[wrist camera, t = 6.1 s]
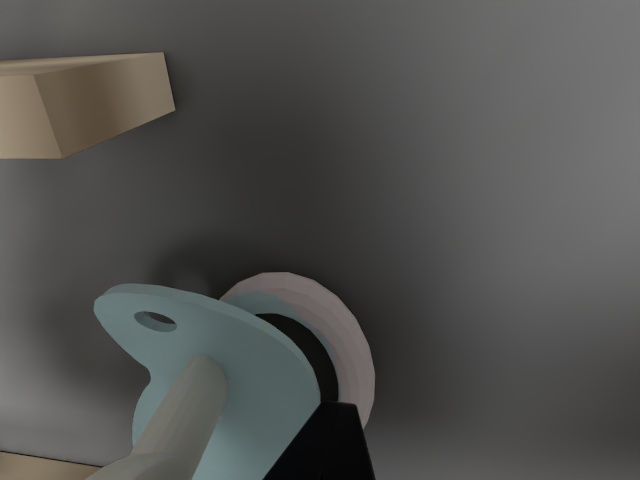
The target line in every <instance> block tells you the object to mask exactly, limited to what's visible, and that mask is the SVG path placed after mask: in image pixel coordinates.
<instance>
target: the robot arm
mask: <svg viewBox="0 0 640 480" xmlns="http://www.w3.org/2000/svg"><path fill="white" fill-rule="evenodd" d="M262 480H376V479H375V475H374V471H373V467H372V463H371V459H370V455H369V451H368V447H367V443H366V439H365V435H364V431H363V427H362V423H361V420H360V416H359V412H358V408H357V406H356V404H353V403H345V402H337V401H329V400H324V401H322V402H321V403H320V404H319V405H318V407H317V408H316V409H315V411H314V412H313V413H312V415H311V416H310V417H309V419H308V420H307V421H306V422H305V424H304V425H303V426H302V428H301V429H300V430H299V432H298V433H297V434H296V436H295V437H294V438H293V440H292V441H291V442H290V444H289V445H288V446H287V447H286V449H285V450H284V451H283V453H282V454H281V455H280V457H279V458H278V459H277V461H276V462H275V463H274V465H273V466H272V467H271V468H270V470H269V471H268V472H267V474H266V475H265V476H264V478H263V479H262Z"/></svg>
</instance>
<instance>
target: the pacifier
mask: <svg viewBox="0 0 640 480" xmlns="http://www.w3.org/2000/svg"><path fill="white" fill-rule="evenodd" d="M143 311H148V312H154V313H158V314H162V315H164V316H167V317H169V318H170V319H171V320H173V321H174V322H175V323H176V324H168V323H163V322H160V321H157V320H154V319H152V318H151V317H149V316H148V315H146V314H145V313H144V312H143ZM94 313H95V315H96V317H97V319H98V320H99V321H100V323H101V325H102V326H103V328H104V329H105V330H106V331H107V332H108V334H109V335H110V336H111V337H112V338H113V339H114V340H115V341H116V342H117V343H118V344H119V345H120V346H121V347H122V348H123V349H124V350H125V351H126V352H127V353H129V354H130V355H131V356H132V357H133V358H134V359H135V360H136V361H138V362H139V363H140V364H142V365H144V366H145V367H146V368H147V369H148V370H149V372H150V375H151V381H150V383H149V384H148V385H147V387H146V388H145V389H144V391H143V392H142V394H141V396H140V398H139V400H138V402H137V405H136V409H135V412H134V416H133V425H132V443H133V449H132V451H131V452H130V454H129V456H127V457H124V458H121V459H119V460H117V461H115V462H113V463H110V464H108V465H106V466H104V467H103V468H101V469H100V470H98V471H97V472H95V473H93V474H92V475H90V476H89V477H87V478H86V479H85V480H262V479H263V478H264V476H265V475H266V474H267V472H268V471H269V470H270V468H271V467H272V466H273V465H274V463H275V462H276V461H277V459H278V458H279V457H280V455H281V454H282V453H283V451H284V450H285V449H286V447H287V446H288V445H289V444H290V442H291V441H292V440H293V438H294V437H295V436H296V434H297V433H298V432H299V430H300V429H301V428H302V426H303V425H304V424H305V422H306V421H307V420H308V419H309V417H310V416H311V415H312V413H313V412H314V411H315V409H316V408H317V407H318V405H319V404H320V403H321V401H320V391H319V387H318V383H317V379H316V376H315V374H314V371H313V368H312V367H311V365H310V363H309V362H308V360H307V358H306V357H305V355H304V354H303V352H302V351H301V350H300V349H299V348H298V347H297V346H296V344H295V343H294V342H293V341H292V340H291V339H290V338H288V337H287V336H286V335H285V334H283V333H282V332H281V331H279V330H278V329H277V328H275V327H274V326H273V325H271V324H270V323H268V322H266V321H264V320H262V319H260V318H258V317H256V316H255V315H256V314H258V313H277V314H280V315H283V316H286V317H289V318H293V319H295V320H296V321H298V322H299V323H301V324H302V325H304V326H305V327H307V328H308V329H309V330H311V331H312V332H313V334H314V335H315V336H316V337H317V338H318V339H319V341H320V342H321V343H322V344H323V345H324V347H325V349H326V351H327V352H328V354H329V356H330V358H331V360H332V362H333V364H334V368H335V372H336V376H337V380H338V386H339V398H338V402H345V403H353V404H356V406H357V408H358V412H359V416H360V420H361V423H362V427H363V429H364V427H365V426H366V424H367V422H368V418H369V415H370V412H371V408H372V405H373V402H374V390H375V371H374V366H373V361H372V357H371V352H370V347H369V345H368V342H367V340H366V338H365V336H364V334H363V332H362V330H361V328H360V326H359V324H358V322H357V320H356V318H355V317H354V315H353V314H352V313H351V312H350V311H349V309H348V308H347V307H346V306H345V305H344V303H343V302H342V301H341V300H340V299H339V298H338V296H337V295H335V294H334V293H332V292H331V291H329V290H328V289H326V288H325V287H323V286H322V285H320V284H319V283H318V282H316V281H315V280H312V279H309V278H306V277H303V276H300V275H296V274H293V273H290V272H271V273H261V274H258V275H256V276H253V277H251V278H248V279H246V280H243V281H241V282H238V283H237V284H236V285H235V286H234V287H232V288H231V289H230V290H229V291H228V292H227V293H226V294H225V295H223V296H222V297H221V298H220V299H219V300H216V299H213V298H210V297H207V296H204V295H201V294H197V293H192V292H188V291H183V290H179V289H174V288H169V287H165V286H160V285H149V284H135V283H125V284H120V285H116V286H113V287H111V288H110V289H108V290H107V291H106V292H105V293H104V294H102V295H101V296H100V297H99V298H97V299H96V300H95V302H94Z"/></svg>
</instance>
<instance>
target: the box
mask: <svg viewBox="0 0 640 480" xmlns="http://www.w3.org/2000/svg"><path fill="white" fill-rule="evenodd" d="M173 111H175V106H174V101H173V96H172V91H171V87H170V82H169V77H168V72H167V67H166V63H165V58H164V53H163V52H162V53H142V54H121V55H100V56H79V57H59V58H38V59H17V60H0V159H63V158H66V157H68V156H70V155H72V154H75V153H77V152H79V151H82V150H84V149H86V148H89V147H91V146H93V145H96V144H98V143H100V142H103V141H105V140H107V139H110V138H112V137H114V136H117V135H119V134H121V133H124V132H126V131H128V130H131V129H133V128H135V127H138V126H140V125H142V124H145V123H147V122H149V121H152V120H154V119H156V118H159V117H161V116H163V115H166V114H168V113H170V112H173ZM100 469H101V468H100V467H94V466H87V465H81V464H75V463H68V462H62V461H56V460H49V459H43V458H36V457H30V456H24V455H17V454H11V453H5V452H0V480H85V479H86V478H87V477H89V476H90V475H92V474H93V473H95V472H97V471H98V470H100Z"/></svg>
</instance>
